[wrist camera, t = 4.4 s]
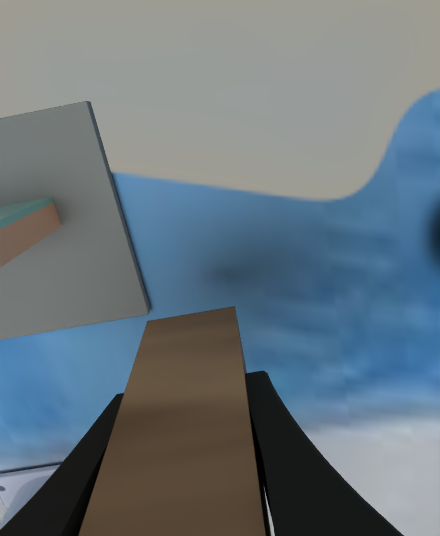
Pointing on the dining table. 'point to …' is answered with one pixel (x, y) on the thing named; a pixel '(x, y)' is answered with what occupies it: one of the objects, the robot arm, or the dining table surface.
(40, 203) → the tile
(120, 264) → the mat
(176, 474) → the peg
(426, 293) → the dining table surface
